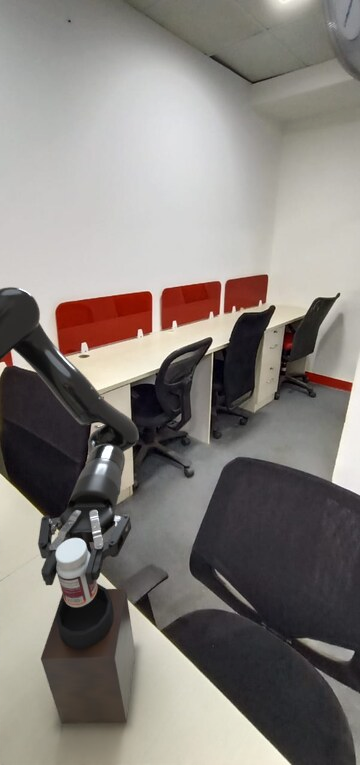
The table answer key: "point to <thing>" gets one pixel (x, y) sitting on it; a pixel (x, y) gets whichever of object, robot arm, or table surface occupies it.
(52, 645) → the stand
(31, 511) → the table surface
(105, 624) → the collar
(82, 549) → the pill bottle
